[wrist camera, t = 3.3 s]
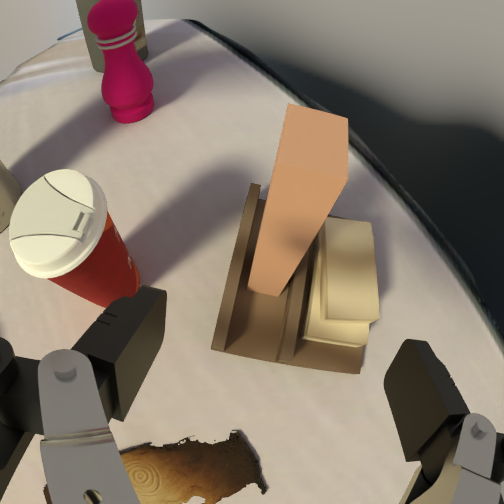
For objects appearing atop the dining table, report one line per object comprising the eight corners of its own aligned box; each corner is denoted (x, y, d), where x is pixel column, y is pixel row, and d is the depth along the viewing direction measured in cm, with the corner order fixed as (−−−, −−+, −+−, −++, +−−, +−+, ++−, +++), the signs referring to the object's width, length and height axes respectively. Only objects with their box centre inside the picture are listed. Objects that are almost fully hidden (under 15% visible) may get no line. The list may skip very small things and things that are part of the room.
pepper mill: (117, 96, 39) (91, -16, 21) (161, 93, 40) (147, -27, 22) (103, 128, 37) (64, 5, 18) (151, 125, 37) (127, -10, 19)
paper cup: (160, 257, 30) (120, 171, 17) (136, 330, 27) (67, 287, 14) (96, 239, 30) (36, 157, 17) (70, 305, 27) (-14, 251, 14)
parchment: (75, 547, 16) (72, 550, 15) (28, 477, 19) (24, 478, 18) (276, 487, 22) (277, 490, 22) (224, 407, 25) (225, 408, 25)
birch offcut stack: (356, 347, 27) (378, 340, 23) (297, 338, 27) (310, 330, 23) (364, 244, 31) (383, 223, 27) (312, 231, 31) (325, 208, 27)
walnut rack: (355, 374, 27) (371, 372, 24) (211, 349, 27) (209, 345, 24) (367, 229, 33) (380, 214, 30) (246, 201, 33) (248, 182, 30)
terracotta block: (278, 296, 28) (347, 179, 12) (246, 290, 28) (276, 162, 12) (285, 257, 30) (347, 118, 14) (255, 251, 30) (288, 103, 14)
